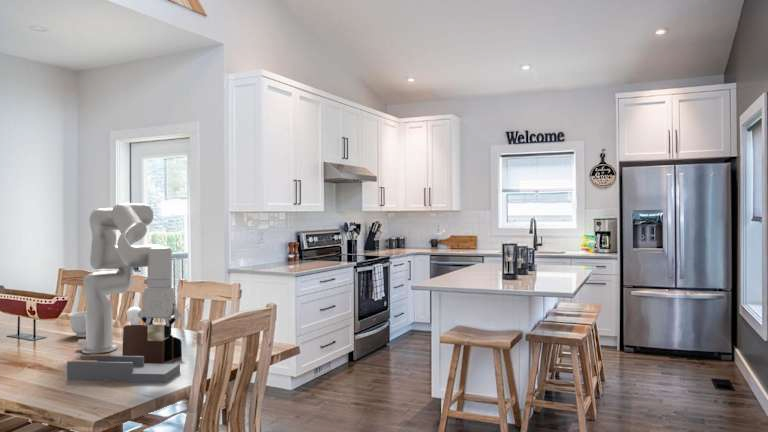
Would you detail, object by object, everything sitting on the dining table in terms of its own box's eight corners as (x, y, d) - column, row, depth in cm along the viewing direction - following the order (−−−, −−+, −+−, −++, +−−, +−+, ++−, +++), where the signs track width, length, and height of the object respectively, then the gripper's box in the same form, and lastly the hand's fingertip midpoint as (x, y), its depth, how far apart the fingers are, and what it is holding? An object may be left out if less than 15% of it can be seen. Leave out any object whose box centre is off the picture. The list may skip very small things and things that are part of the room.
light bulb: (132, 331, 257) (132, 308, 257) (123, 330, 260) (123, 306, 260) (144, 329, 262) (145, 306, 262) (136, 327, 266) (136, 304, 266)
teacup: (71, 341, 238) (71, 317, 238) (65, 334, 250) (65, 312, 250) (102, 337, 246) (102, 314, 246) (95, 331, 258) (95, 309, 257)
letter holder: (162, 366, 201) (163, 327, 201) (121, 360, 208) (121, 323, 208) (182, 359, 210) (182, 322, 210) (142, 354, 218) (142, 318, 218)
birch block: (147, 340, 184) (147, 325, 184) (154, 336, 189) (154, 322, 189) (162, 341, 184) (162, 326, 184) (168, 337, 189) (168, 322, 189)
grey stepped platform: (63, 381, 183) (63, 362, 182) (85, 370, 195) (85, 352, 194) (164, 383, 181) (164, 364, 181) (180, 372, 193) (180, 354, 193)
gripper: (129, 284, 184) (128, 338, 184) (179, 285, 183) (179, 340, 183) (140, 281, 191) (139, 333, 191) (188, 282, 190) (188, 335, 191)
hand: (159, 336), depth 187 cm, fingers closed on birch block, 5 cm apart
